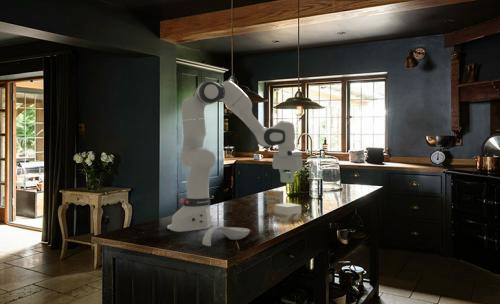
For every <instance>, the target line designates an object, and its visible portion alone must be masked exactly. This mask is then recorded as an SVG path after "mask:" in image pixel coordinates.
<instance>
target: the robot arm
mask: <svg viewBox="0 0 500 304" xmlns="http://www.w3.org/2000/svg"><path fill="white" fill-rule="evenodd" d="M218 101H221V102H222V103H223V104H225V106H226V107H227V108H228V109H229V110H230V111H231V112H232V113H233V114H234V115H235V116H237V117H238V118H239V119H240V120H241V121H242V122H243V123H244V124H245V126H246V127H247V128H248V129H249V130H250V131H251V133H252V134H253V136H254V139H255V142H256V143H257V144H258V145H259V146H260V147H263V148H265V147H275V146H277V147H278V148H277V149H278V150H277V151H275V152H274V153H273V157H272V169H274V170H278V171H279V173H280V172H285V170H286V171H289V172H291V174H290V175H289V179H293V175H294V176H295V173H296V172H298V171H302V170H303V166H304V165H303V157H302V156H303V151H301V150H299V149H298V148H296V144H295V139H296V132H295V125H294V123H293V122H291V121H286V120H285V121H284V120H280V121H278V123H277V124H275V125H273V126H270V127H265V126H263V125H262V124H261V123H260V121H259V120H258V119H257V118H256V116H254V114H253V110H252V109H253V103H252V100H251V99H250V98H249V96H248V95H247V94H246V92H244V91H243V90H242V88H240V87H239V86H238V85H237V84H236V83H234V82H233V81H231V80H225V81H223V82H222V83H219V82H215V81H211V80H208V81H203V82H202V83H200V84H199V85H198V86H197V87H196V89H195V91H194V93H193V95H192V96H188V97H185V98H184V99H183V101H182V105H181V121H182V132H183V137H182V139H183V140H182V148H181V153H180V155H179V160H180V163H181V165H183V166H184V167H185V168H187V169H189V176H188V178H187V180H186V185H185V186H186V197H185V199H184V198H180V199H179V203H180V204H183V206H181V207H180V209H178V210H177V211H176V212H175V213H173V215H172V218H171V224H168V225H167V226H166V228H167V229H168V230H169V229H170V231H172V232H178V233H181V232H189V231H198V230H199V231H200V230H206V229H208V230H209V229H210V228H211V227H213V225H214V223H213V221H212V216H211V209H210V208H211V198H210V177H211V172H212V169H213V167H214V165H215V164H216V155H215V153H214V152H213V151H212V150H210V149H209V148H207V147H204V141H205V138H206V135H207V131H206V129H207V128H206V119H205V108H206V106H207V105H212V104H215V103H216V102H218Z"/></svg>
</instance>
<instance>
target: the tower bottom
mask: <svg viewBox="0 0 500 304" xmlns="http://www.w3.org/2000/svg"><path fill="white" fill-rule="evenodd" d="M301 215H302V212H301V213H296V214H290V215H285V214H280V213H276V212H274V214H273V220H276V221H280V220H281V222H284V221H285V223H288V221H289V222H294V221H300V220H302V218H301V217H302V216H301Z"/></svg>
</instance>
